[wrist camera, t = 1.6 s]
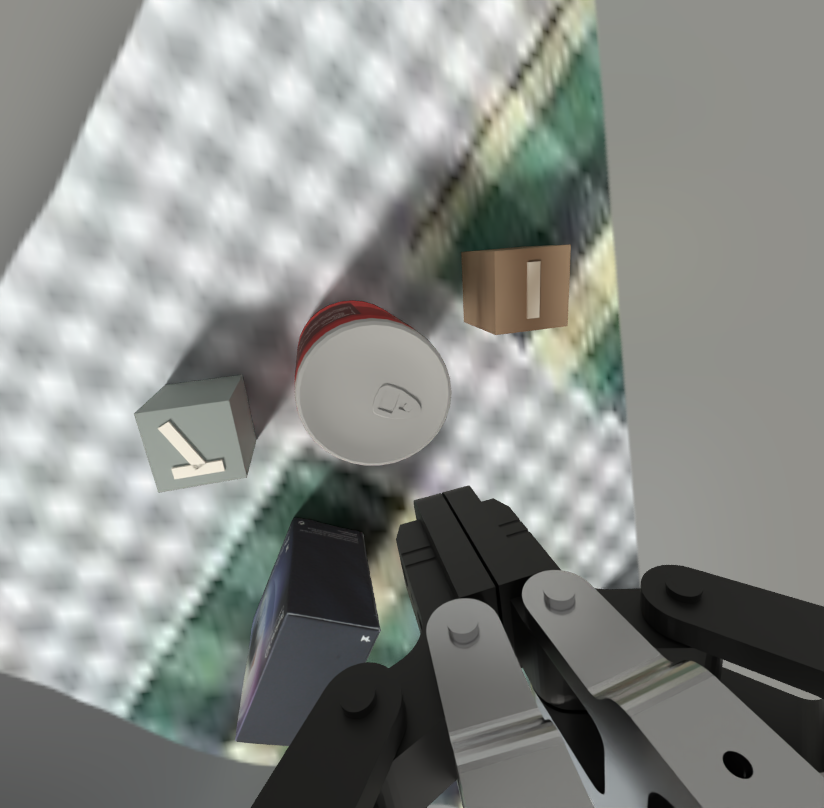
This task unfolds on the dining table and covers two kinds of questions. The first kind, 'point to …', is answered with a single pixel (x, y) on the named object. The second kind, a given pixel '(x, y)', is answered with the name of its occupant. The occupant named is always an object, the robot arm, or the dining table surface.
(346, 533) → the small box
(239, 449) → the slate digit block
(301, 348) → the canned food
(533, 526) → the dining table surface
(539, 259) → the walnut digit block
